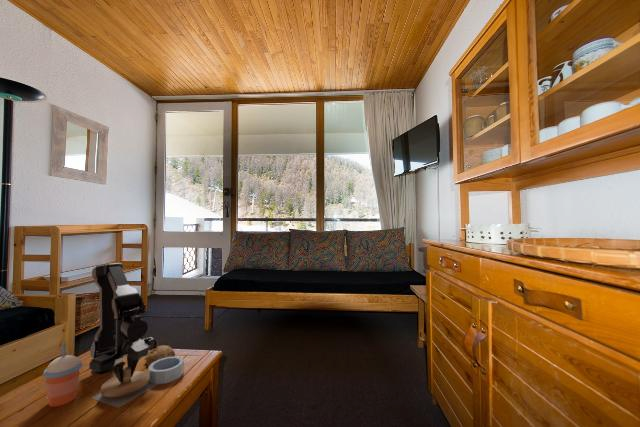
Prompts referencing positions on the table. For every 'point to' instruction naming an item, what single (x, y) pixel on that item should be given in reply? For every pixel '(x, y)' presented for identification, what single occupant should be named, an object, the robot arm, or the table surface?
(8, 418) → the table surface
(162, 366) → the bowl
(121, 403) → the mat
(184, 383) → the table surface
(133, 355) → the robot arm
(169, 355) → the bread roll
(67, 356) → the cup with straw
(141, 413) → the table surface
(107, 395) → the lid
